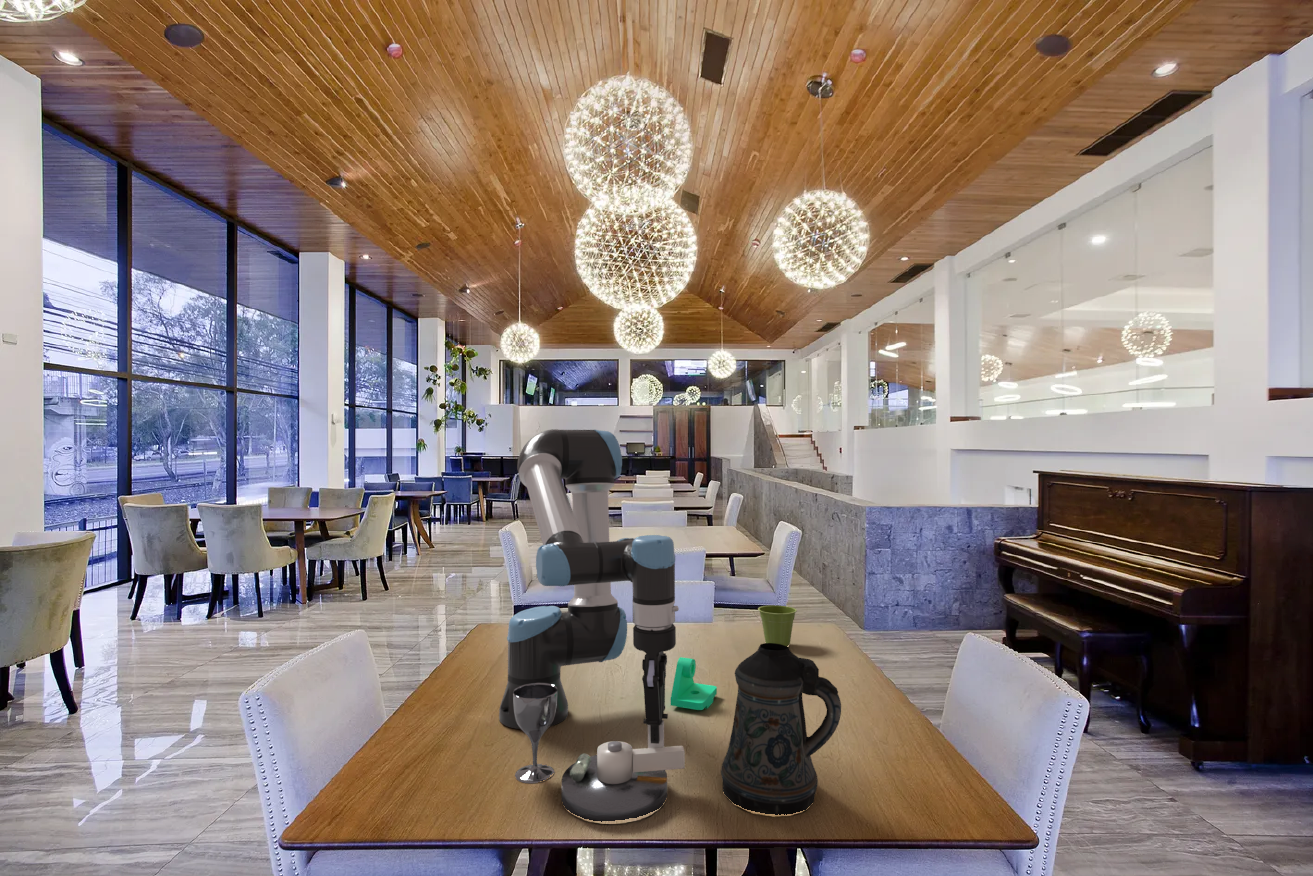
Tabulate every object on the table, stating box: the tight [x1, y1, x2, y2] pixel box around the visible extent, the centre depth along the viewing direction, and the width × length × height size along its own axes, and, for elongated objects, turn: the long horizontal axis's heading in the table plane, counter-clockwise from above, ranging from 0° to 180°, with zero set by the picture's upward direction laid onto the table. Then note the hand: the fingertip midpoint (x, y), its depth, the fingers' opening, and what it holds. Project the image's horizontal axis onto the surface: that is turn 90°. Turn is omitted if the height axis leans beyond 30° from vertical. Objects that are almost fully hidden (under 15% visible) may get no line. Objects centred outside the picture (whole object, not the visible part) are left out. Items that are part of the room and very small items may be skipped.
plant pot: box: [757, 604, 798, 646], centre depth 196 cm, size 12×12×11 cm
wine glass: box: [513, 683, 557, 785], centre depth 116 cm, size 8×8×15 cm
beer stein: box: [720, 642, 842, 815], centre depth 110 cm, size 16×19×25 cm
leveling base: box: [561, 753, 668, 822], centre depth 109 cm, size 18×18×5 cm
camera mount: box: [670, 656, 718, 711], centre depth 150 cm, size 12×8×10 cm, turn 157°
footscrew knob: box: [596, 740, 686, 784], centre depth 110 cm, size 15×6×5 cm, turn 99°
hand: (656, 758), depth 112 cm, fingers closed
